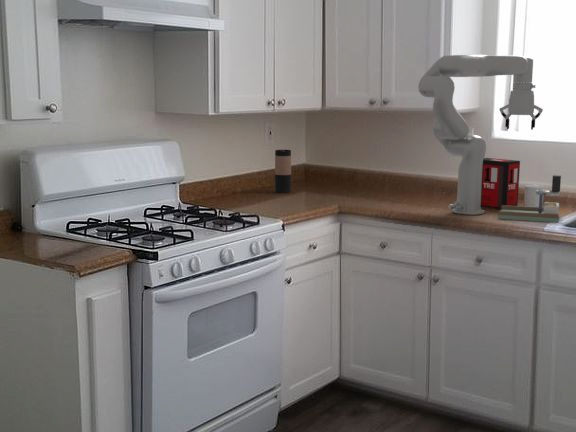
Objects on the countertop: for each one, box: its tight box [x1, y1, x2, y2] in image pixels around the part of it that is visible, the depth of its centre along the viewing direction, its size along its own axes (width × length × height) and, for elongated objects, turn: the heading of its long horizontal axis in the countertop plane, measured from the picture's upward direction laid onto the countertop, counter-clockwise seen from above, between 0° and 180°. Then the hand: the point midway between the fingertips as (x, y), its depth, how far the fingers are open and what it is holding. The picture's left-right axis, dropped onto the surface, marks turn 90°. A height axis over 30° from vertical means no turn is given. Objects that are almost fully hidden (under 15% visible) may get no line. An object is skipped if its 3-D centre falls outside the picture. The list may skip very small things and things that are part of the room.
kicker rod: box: [536, 174, 562, 213], centre depth 310 cm, size 9×6×15 cm
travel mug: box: [274, 149, 292, 194], centre depth 377 cm, size 8×8×20 cm
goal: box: [543, 201, 560, 215], centre depth 311 cm, size 6×11×4 cm, turn 161°
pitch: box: [498, 205, 560, 223], centre depth 313 cm, size 22×16×3 cm
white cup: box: [524, 184, 545, 207], centre depth 331 cm, size 8×8×10 cm
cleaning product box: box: [481, 157, 521, 210], centre depth 338 cm, size 16×9×20 cm, turn 43°
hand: (519, 129), depth 329 cm, fingers open, 9 cm apart
